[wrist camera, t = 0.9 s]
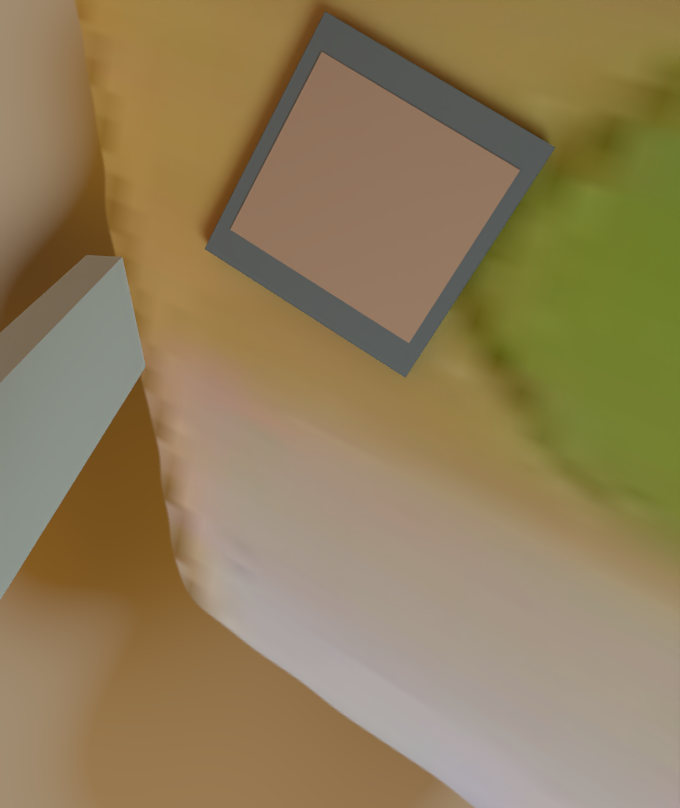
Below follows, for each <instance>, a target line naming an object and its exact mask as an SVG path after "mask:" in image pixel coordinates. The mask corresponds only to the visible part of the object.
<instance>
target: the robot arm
mask: <svg viewBox="0 0 680 808" xmlns="http://www.w3.org/2000/svg"><path fill="white" fill-rule="evenodd" d="M145 367H146V366H145V362H144V357H143V352H142V348H141V343H140V338H139V333H138V329H137V324H136V319H135V315H134V310H133V305H132V301H131V296H130V291H129V286H128V282H127V277H126V272H125V268H124V263H123V258H122V257H111V256H93V255H86V256H85V257H84V258H83V259H82V260H81V261H80V262H78V263H77V264H76V265H75V266H74V267H73V268H72V269H71V270H70V271H68V272H67V273H66V274H65V275H64V276H63V277H62V278H61V279H60V280H58V281H57V282H56V283H55V284H54V285H53V286H52V287H51V288H50V289H48V290H47V291H46V292H45V293H44V294H43V295H42V296H41V297H39V299H37V300H36V301H35V302H34V303H33V304H32V305H31V306H29V307H28V308H27V310H25V311H24V312H23V313H22V314H21V315H20V316H19V317H18V318H16V319H15V320H14V321H13V322H12V323H11V324H9V325H8V326H7V327H6V328H5V329H4V330H3V331H2V332H1V333H0V599H1V598H2V596H3V595H4V593H5V591H6V590H7V588H8V586H9V585H10V583H11V582H12V580H13V578H14V577H15V575H16V574H17V572H18V571H19V569H20V567H21V566H22V564H23V562H24V561H25V559H26V558H27V556H28V554H29V553H30V551H31V549H32V548H33V546H34V545H35V543H36V542H37V540H38V538H39V537H40V535H41V534H42V532H43V530H44V529H45V527H46V526H47V524H48V522H49V521H50V519H51V518H52V516H53V514H54V513H55V511H56V509H57V508H58V506H59V505H60V503H61V501H62V500H63V498H64V497H65V495H66V493H67V492H68V490H69V489H70V487H71V485H72V484H73V482H74V480H75V479H76V477H77V476H78V474H79V473H80V471H81V469H82V468H83V466H84V465H85V463H86V461H87V460H88V458H89V456H90V455H91V453H92V452H93V450H94V449H95V447H96V445H97V444H98V442H99V440H100V439H101V437H102V436H103V434H104V432H105V431H106V429H107V428H108V426H109V424H110V423H111V421H112V420H113V418H114V416H115V415H116V413H117V412H118V410H119V408H120V407H121V405H122V404H123V402H124V400H125V399H126V397H127V395H128V394H129V392H130V390H131V389H132V388H133V386H134V384H135V383H136V381H137V379H138V378H139V376H140V375H141V373H142V371H143V370H144V368H145Z"/></svg>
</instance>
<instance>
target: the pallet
mask: <svg viewBox="0 0 680 808" xmlns="http://www.w3.org/2000/svg"><path fill="white" fill-rule="evenodd" d="M554 149H555V147H554V146H552V145H550V144H549V143H547V142H545V141H544V140H542V139H540V138H538V137H537V136H535V135H533V134H532V133H530V132H528V131H527V130H525V129H523V128H522V127H520V126H518V125H516V124H515V123H513V122H511V121H510V120H508V119H506V118H505V117H503V116H501V115H500V114H498V113H496V112H494V111H493V110H491V109H489V108H488V107H486V106H484V105H483V104H481V103H479V102H478V101H476V100H474V99H472V98H471V97H469V96H467V95H466V94H464V93H462V92H461V91H459V90H457V89H456V88H454V87H452V86H450V85H449V84H447V83H445V82H444V81H442V80H440V79H439V78H437V77H435V76H434V75H432V74H430V73H428V72H427V71H425V70H423V69H422V68H420V67H418V66H417V65H415V64H413V63H412V62H410V61H408V60H406V59H405V58H403V57H401V56H400V55H398V54H396V53H395V52H393V51H391V50H390V49H388V48H386V47H384V46H383V45H381V44H379V43H378V42H376V41H374V40H373V39H371V38H369V37H368V36H366V35H364V34H362V33H361V32H359V31H357V30H356V29H354V28H352V27H351V26H349V25H347V24H345V23H344V22H342V21H340V20H339V19H337V18H335V17H334V16H332V15H330V14H329V13H327V12H325V13H324V15H323V17H322V19H321V21H320V23H319V25H318V27H317V29H316V31H315V32H314V34H313V36H312V38H311V40H310V42H309V44H308V46H307V48H306V50H305V52H304V54H303V56H302V58H301V60H300V62H299V64H298V66H297V68H296V70H295V72H294V74H293V76H292V78H291V80H290V82H289V84H288V86H287V88H286V90H285V92H284V94H283V96H282V98H281V99H280V101H279V103H278V105H277V107H276V109H275V111H274V113H273V115H272V117H271V119H270V121H269V123H268V125H267V127H266V129H265V131H264V133H263V135H262V137H261V139H260V141H259V143H258V145H257V147H256V149H255V151H254V153H253V155H252V157H251V159H250V161H249V163H248V164H247V166H246V168H245V170H244V172H243V174H242V176H241V178H240V180H239V182H238V184H237V186H236V188H235V190H234V192H233V194H232V196H231V198H230V200H229V202H228V204H227V206H226V208H225V210H224V212H223V214H222V216H221V218H220V220H219V222H218V224H217V226H216V228H215V230H214V231H213V233H212V235H211V237H210V239H209V241H208V243H207V245H206V247H205V249H206V250H207V251H209V252H211V253H212V254H214V255H215V256H217V257H218V258H220V259H221V260H223V261H225V262H226V263H228V264H229V265H231V266H232V267H234V268H235V269H237V270H239V271H240V272H242V273H243V274H245V275H246V276H248V277H249V278H251V279H253V280H254V281H256V282H257V283H259V284H260V285H262V286H264V287H265V288H267V289H268V290H270V291H271V292H273V293H274V294H276V295H278V296H279V297H281V298H282V299H284V300H285V301H287V302H288V303H290V304H292V305H293V306H295V307H296V308H298V309H299V310H301V311H302V312H304V313H306V314H307V315H309V316H310V317H312V318H313V319H315V320H317V321H318V322H320V323H321V324H323V325H324V326H326V327H327V328H329V329H331V330H332V331H334V332H335V333H337V334H338V335H340V336H341V337H343V338H345V339H346V340H348V341H349V342H351V343H352V344H354V345H355V346H357V347H359V348H360V349H362V350H363V351H365V352H366V353H368V354H370V355H371V356H373V357H374V358H376V359H377V360H379V361H380V362H382V363H384V364H385V365H387V366H388V367H390V368H391V369H393V370H394V371H396V372H398V373H399V374H401V375H402V376H404V377H406V376H407V374H408V373H409V371H410V369H411V368H412V366H413V365H414V363H415V362H416V360H417V359H418V357H419V356H420V354H421V353H422V351H423V350H424V348H425V346H426V345H427V343H428V342H429V340H430V339H431V337H432V336H433V334H434V333H435V331H436V330H437V328H438V327H439V325H440V323H441V322H442V320H443V319H444V317H445V316H446V314H447V313H448V311H449V310H450V308H451V307H452V305H453V304H454V302H455V300H456V299H457V297H458V296H459V294H460V293H461V291H462V290H463V288H464V287H465V285H466V284H467V282H468V281H469V279H470V277H471V276H472V274H473V273H474V271H475V270H476V268H477V267H478V265H479V264H480V262H481V261H482V259H483V258H484V256H485V254H486V253H487V251H488V250H489V248H490V247H491V245H492V244H493V242H494V241H495V239H496V238H497V236H498V234H499V233H500V231H501V230H502V228H503V227H504V225H505V224H506V222H507V221H508V219H509V218H510V216H511V215H512V213H513V211H514V210H515V208H516V207H517V205H518V204H519V202H520V201H521V199H522V198H523V196H524V195H525V193H526V192H527V190H528V188H529V187H530V185H531V184H532V182H533V181H534V179H535V178H536V176H537V175H538V173H539V172H540V170H541V169H542V167H543V165H544V164H545V162H546V161H547V159H548V158H549V156H550V155H551V153H552V152H553V150H554Z"/></svg>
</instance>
